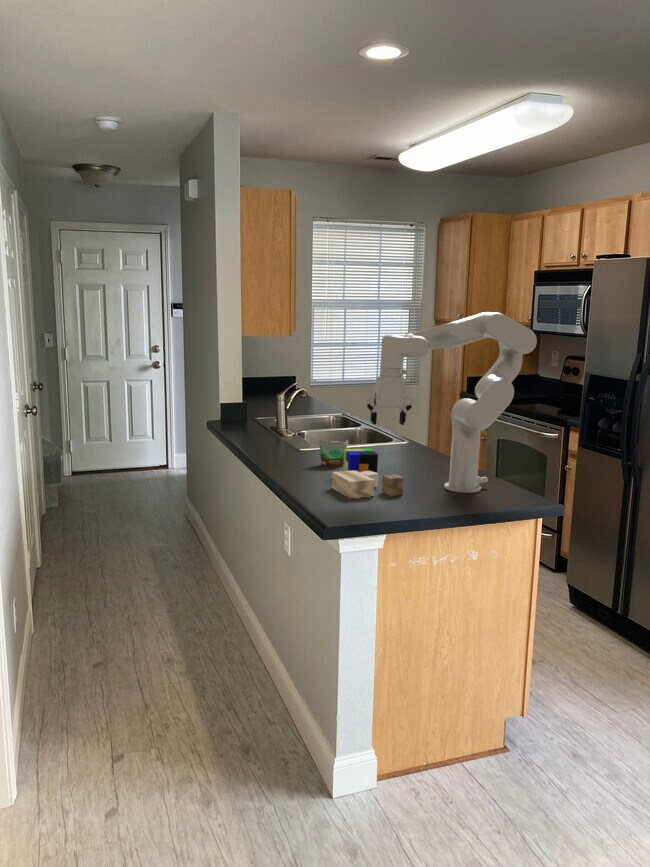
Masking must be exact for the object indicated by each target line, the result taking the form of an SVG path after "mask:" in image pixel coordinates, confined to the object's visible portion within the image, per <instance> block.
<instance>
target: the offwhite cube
mask: <svg viewBox="0 0 650 867" xmlns="http://www.w3.org/2000/svg"><path fill="white" fill-rule="evenodd" d="M360 473H362V474H364V475H366V476H368V477H370V478H372V479H374V480H375V483H374V487H376V488H378V487H379V480H380V478H379V477H380V476H379V475H380V474H379V472H377V473H376V472H372V471H363V472H360ZM377 486H378V487H377Z"/></svg>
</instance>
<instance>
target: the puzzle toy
mask: <svg viewBox="0 0 650 867" xmlns="http://www.w3.org/2000/svg"><path fill="white" fill-rule="evenodd" d="M378 459H379V454H378V453H376V452H375V450H373V449H371V448H346V449H344V466H343V470H342V471H354V470H356V471H358V472H363V471H372V472H376V473H378V465H379V464H378V463H379V462H378V461H379V460H378Z"/></svg>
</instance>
